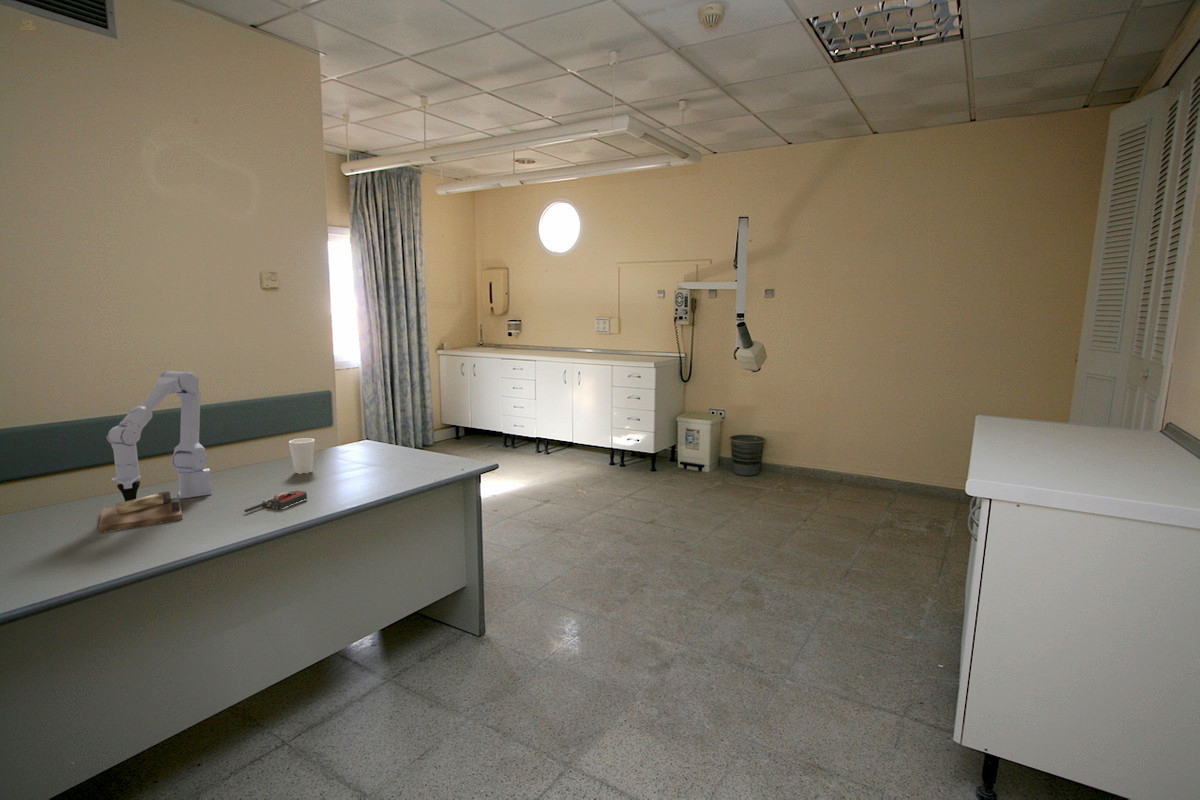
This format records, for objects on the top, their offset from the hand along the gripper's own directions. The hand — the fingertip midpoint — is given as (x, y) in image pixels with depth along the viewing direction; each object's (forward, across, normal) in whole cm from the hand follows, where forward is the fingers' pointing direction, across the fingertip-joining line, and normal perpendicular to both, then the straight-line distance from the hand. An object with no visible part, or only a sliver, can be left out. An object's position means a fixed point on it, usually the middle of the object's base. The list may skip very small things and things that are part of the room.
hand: (131, 504), depth 188 cm
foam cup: (+4, -25, +55) cm, 60 cm away
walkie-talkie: (+4, +16, +39) cm, 42 cm away
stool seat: (+3, +4, +3) cm, 6 cm away
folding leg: (+1, +1, +4) cm, 4 cm away
